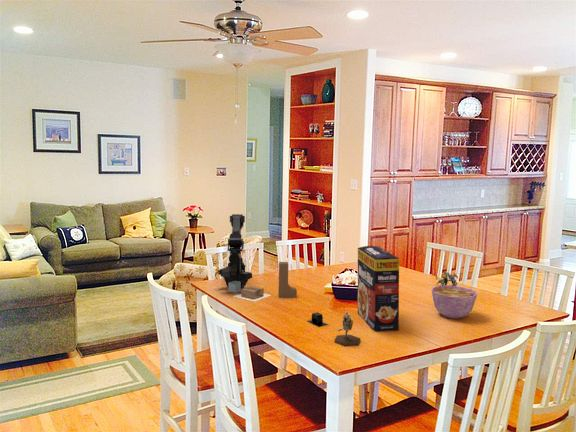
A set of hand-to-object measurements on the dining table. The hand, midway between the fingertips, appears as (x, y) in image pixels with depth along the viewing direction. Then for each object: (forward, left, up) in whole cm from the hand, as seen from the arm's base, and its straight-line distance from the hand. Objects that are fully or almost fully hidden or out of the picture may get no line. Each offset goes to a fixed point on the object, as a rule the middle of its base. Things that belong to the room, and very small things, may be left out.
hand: (235, 289), depth 263 cm
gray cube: (0, 0, -1) cm, 1 cm away
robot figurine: (+28, +81, -1) cm, 86 cm away
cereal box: (-1, +80, -1) cm, 80 cm away
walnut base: (+3, +14, -1) cm, 14 cm away
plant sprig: (-78, +88, -1) cm, 118 cm away
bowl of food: (-30, +105, -1) cm, 109 cm away
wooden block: (-8, +28, -1) cm, 29 cm away
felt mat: (+2, +13, -1) cm, 13 cm away
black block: (+16, +60, -2) cm, 62 cm away
